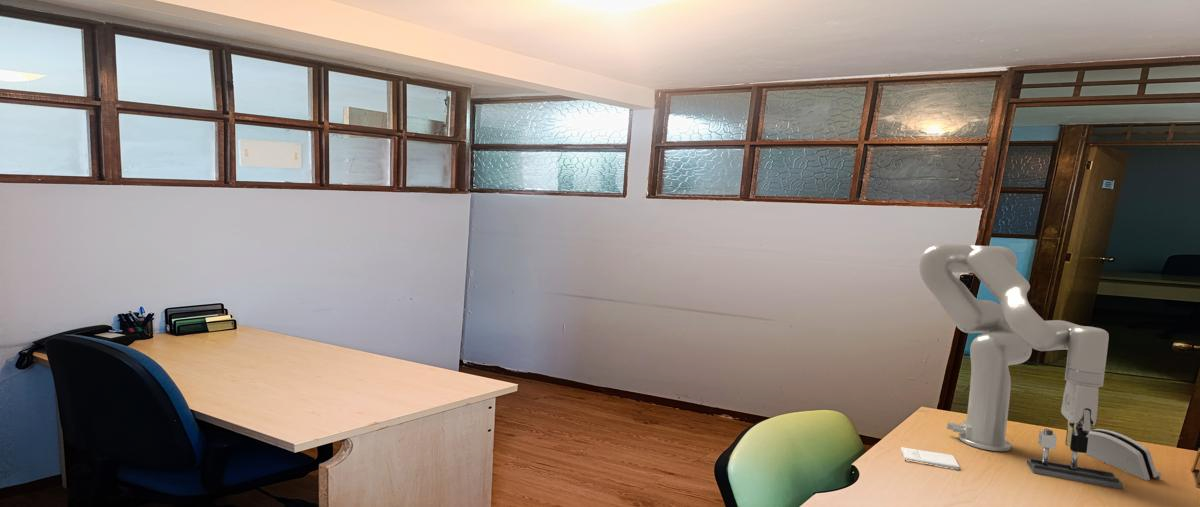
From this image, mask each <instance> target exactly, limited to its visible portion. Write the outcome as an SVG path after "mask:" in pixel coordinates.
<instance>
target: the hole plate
mask: <svg viewBox="0 0 1200 507" xmlns="http://www.w3.org/2000/svg"><path fill="white" fill-rule="evenodd" d="M1038 431H1039V432H1038V438H1037V439H1038V442H1037V443H1038V444H1039V446H1040V447H1041V448H1043V450H1042V458H1041V459H1037V458H1033V457H1032V458H1028V457H1027V458H1026V464H1027V466H1028V467H1029V468H1030V470H1031V472H1032V473H1033V474H1037V475H1042V476H1048V477H1053V478H1060V479H1064V480H1069V481H1076V482H1081V483H1086V484H1092V485H1098V486H1103V487H1107V488H1114V489H1120V490H1124V483H1123V482H1122V481H1120V479H1119V478H1118V477H1117V476H1116V475H1115V474H1114V473H1113V471H1105V470H1100V469H1095V468H1089V467H1083V466H1078V465H1077V468H1076V469H1072V468H1071V464H1065V463H1061V462H1054V461H1049V455H1050V449H1052V450H1055V449H1057V448H1056V446H1057V439H1058V436H1057V435H1056V434H1055V433H1054V430H1051V429H1049V428H1044V429H1043V430H1038Z"/></svg>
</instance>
